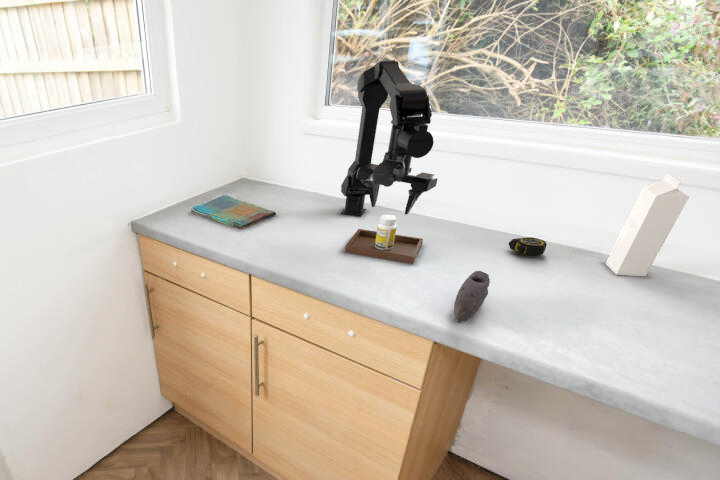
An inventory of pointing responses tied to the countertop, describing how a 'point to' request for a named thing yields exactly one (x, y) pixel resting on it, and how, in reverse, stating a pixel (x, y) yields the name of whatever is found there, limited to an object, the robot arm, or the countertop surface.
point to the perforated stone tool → (471, 295)
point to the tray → (401, 251)
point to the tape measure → (528, 246)
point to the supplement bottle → (386, 232)
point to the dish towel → (232, 212)
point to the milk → (647, 227)
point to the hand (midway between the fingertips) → (389, 210)
